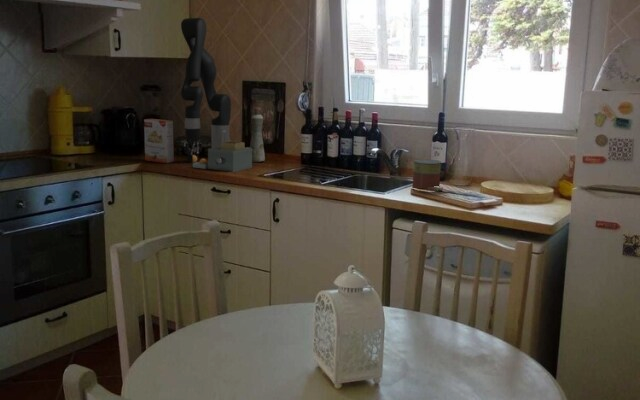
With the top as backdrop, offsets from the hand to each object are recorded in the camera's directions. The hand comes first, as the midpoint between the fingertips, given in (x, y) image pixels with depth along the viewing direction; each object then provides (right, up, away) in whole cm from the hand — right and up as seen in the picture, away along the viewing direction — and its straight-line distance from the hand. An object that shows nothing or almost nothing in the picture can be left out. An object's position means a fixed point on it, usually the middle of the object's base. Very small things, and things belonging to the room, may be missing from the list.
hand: (193, 161), depth 328 cm
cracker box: (-18, 0, +3) cm, 18 cm away
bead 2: (+7, -3, -14) cm, 16 cm away
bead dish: (+7, -4, -13) cm, 16 cm away
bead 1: (0, -1, 0) cm, 1 cm away
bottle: (+30, +1, +12) cm, 32 cm away
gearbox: (+20, -4, -14) cm, 25 cm away
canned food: (+107, -15, -52) cm, 120 cm away
